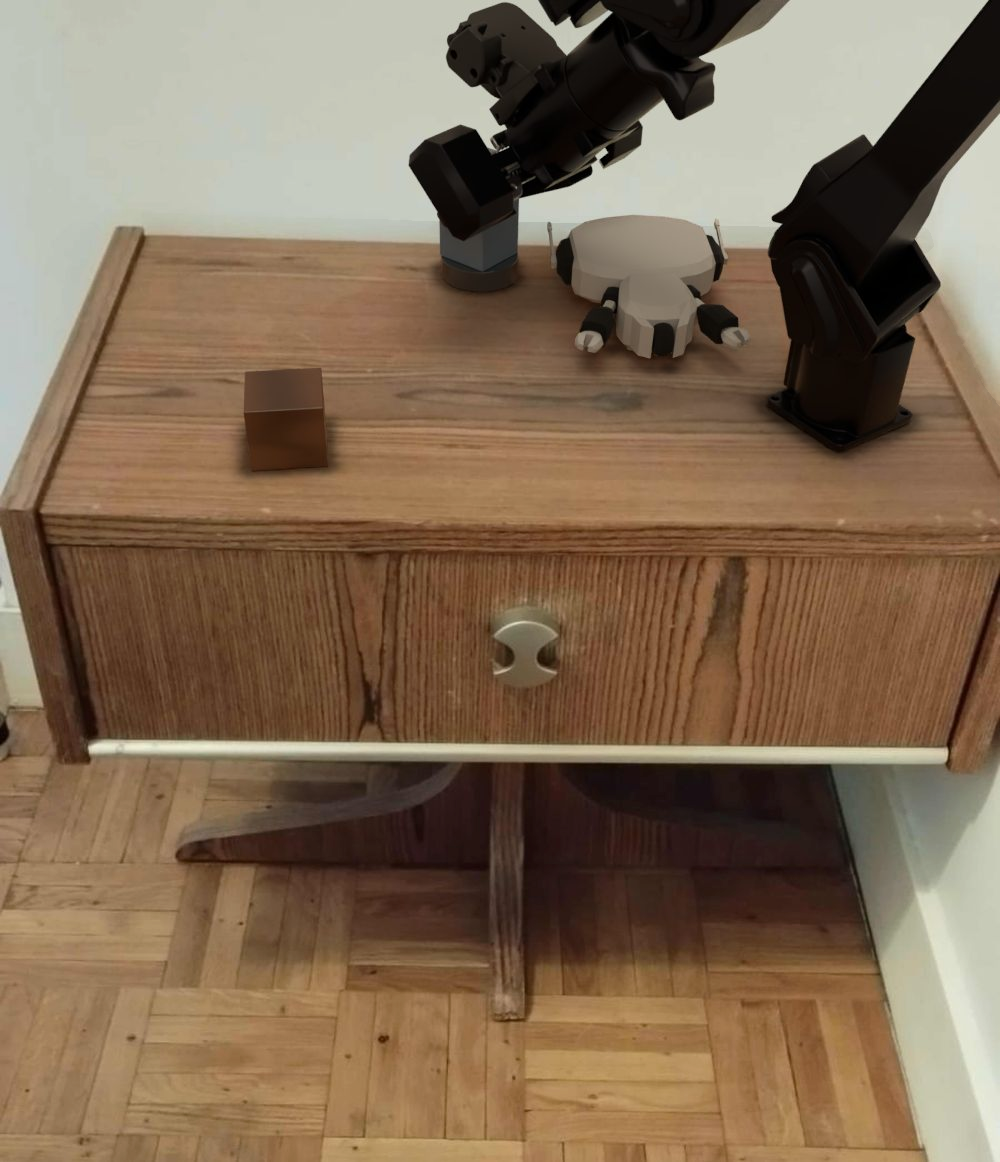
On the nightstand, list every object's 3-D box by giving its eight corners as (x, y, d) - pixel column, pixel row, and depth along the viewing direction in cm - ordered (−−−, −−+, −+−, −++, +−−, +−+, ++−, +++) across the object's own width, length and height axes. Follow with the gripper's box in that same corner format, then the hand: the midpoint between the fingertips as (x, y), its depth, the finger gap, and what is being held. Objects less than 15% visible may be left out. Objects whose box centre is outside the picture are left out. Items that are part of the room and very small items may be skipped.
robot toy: (753, 382, 84) (709, 262, 94) (765, 323, 81) (718, 205, 91) (566, 388, 83) (543, 266, 94) (570, 328, 80) (546, 208, 90)
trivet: (533, 279, 93) (534, 260, 92) (468, 299, 90) (468, 279, 89) (490, 249, 96) (490, 231, 95) (426, 268, 94) (426, 249, 93)
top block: (518, 253, 92) (520, 157, 88) (482, 272, 90) (483, 175, 86) (475, 237, 94) (475, 142, 90) (439, 255, 92) (438, 160, 87)
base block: (326, 424, 78) (321, 367, 75) (328, 466, 74) (323, 407, 72) (252, 429, 77) (244, 371, 75) (251, 471, 74) (243, 412, 71)
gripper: (620, -60, 83) (486, 74, 96) (429, 5, 72) (305, 147, 84) (709, 92, 85) (566, 205, 97) (535, 179, 73) (398, 294, 86)
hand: (464, 209), depth 91 cm, fingers open, 4 cm apart
